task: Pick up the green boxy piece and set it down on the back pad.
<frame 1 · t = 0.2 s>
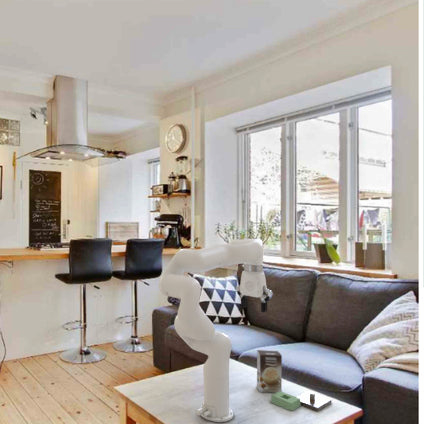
hand: (253, 309, 175), 37 cm above the table, tool pointing down, fingers open, 9 cm apart
coffee box: (269, 390, 182), on the table
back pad: (312, 402, 169), on the table
green boxy piece: (285, 404, 168), on the table
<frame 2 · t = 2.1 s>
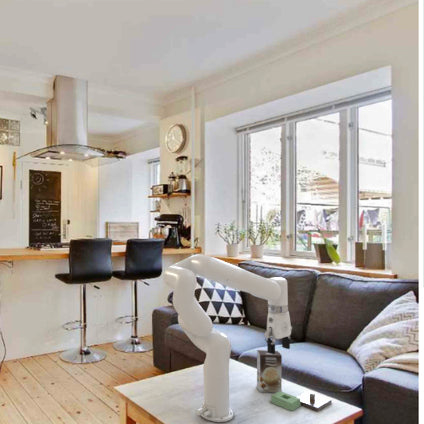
hand: (278, 350, 170), 21 cm above the table, tool pointing down, fingers open, 9 cm apart
nothing on the table moved.
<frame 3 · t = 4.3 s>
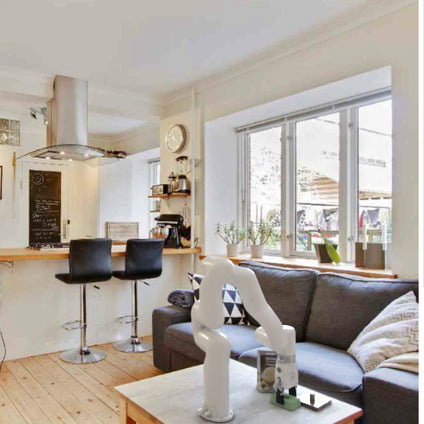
hand: (286, 400, 168), 1 cm above the table, tool pointing down, fingers open, 8 cm apart
nothing on the table moved.
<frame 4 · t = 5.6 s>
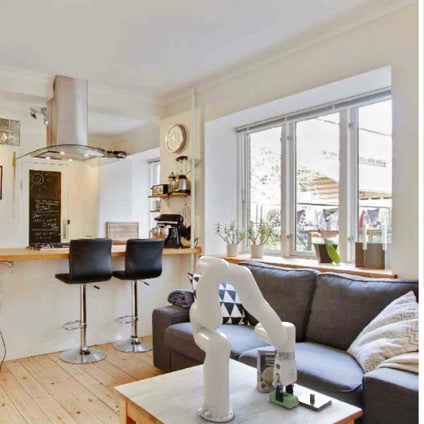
hand: (284, 398, 168), 2 cm above the table, tool pointing down, fingers closed on green boxy piece, 6 cm apart
green boxy piece: (283, 402, 168), point 1 cm above the table, touching gripper
everything else where it was.
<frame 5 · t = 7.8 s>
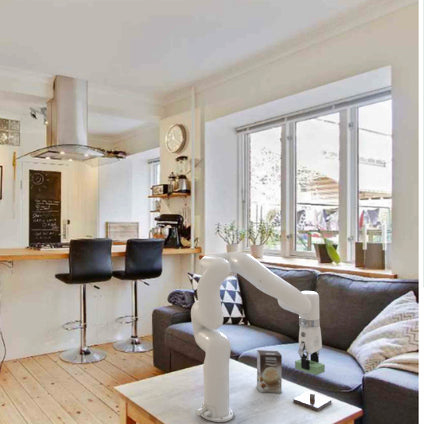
hand: (310, 366, 169), 15 cm above the table, tool pointing down, fingers closed on green boxy piece, 6 cm apart
green boxy piece: (309, 370, 169), point 13 cm above the table, touching gripper
everything else where it was.
when the fingers open (3 cm above the table, at t = 10.1 s): green boxy piece stays where it is, resting on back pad.
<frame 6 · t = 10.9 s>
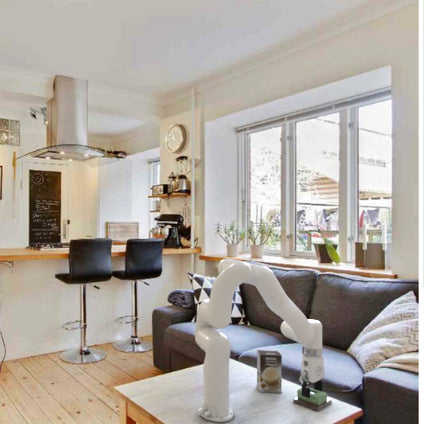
hand: (312, 393, 169), 4 cm above the table, tool pointing down, fingers open, 9 cm apart
green boxy piece: (312, 399, 169), point 1 cm above the table, touching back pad
everything else where it was.
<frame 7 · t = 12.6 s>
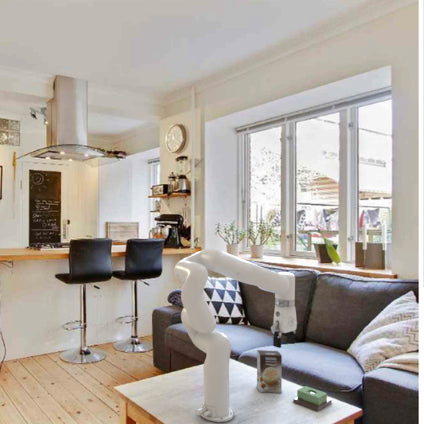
hand: (284, 344, 171), 23 cm above the table, tool pointing down, fingers open, 9 cm apart
nothing on the table moved.
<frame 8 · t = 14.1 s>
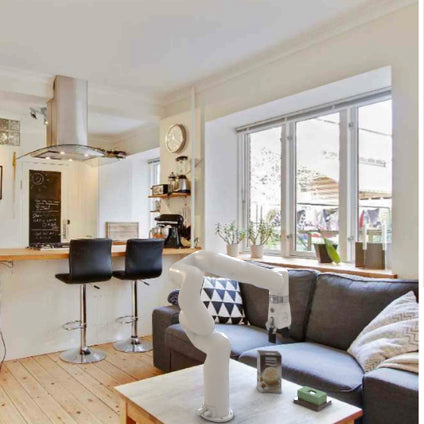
hand: (279, 340, 172), 24 cm above the table, tool pointing down, fingers open, 9 cm apart
nothing on the table moved.
at the end: green boxy piece 0.1 cm off-centre on the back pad, point 1.5 cm above the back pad's base; green boxy piece tilted 0°; the gripper is holding nothing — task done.
